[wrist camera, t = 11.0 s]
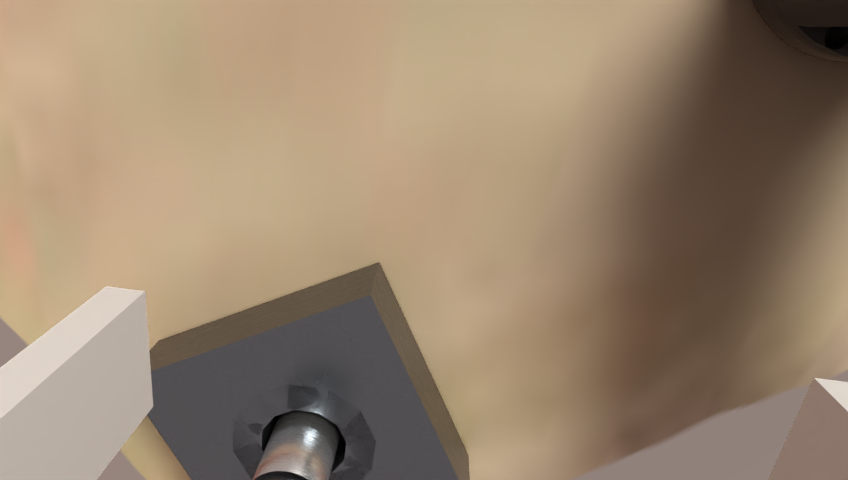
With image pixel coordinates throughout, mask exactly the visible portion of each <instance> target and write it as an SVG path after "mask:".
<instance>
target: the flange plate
mask: <svg viewBox="0 0 848 480" xmlns="http://www.w3.org/2000/svg"><path fill="white" fill-rule="evenodd" d="M149 352H150V366H151V381H152V395H153V407H152V409H151V410H150V411H149V413H148V414H147V416H148V417H149V418H150V420H151V421H152V423H153V424H154V426H155V427H156V429H157V430H158V432H159V433H160V434H161V436H162V437H163V439H164V440H165V442H166V443H167V445H168V446H169V448H170V449H171V450H172V452H173V453H174V455H175V456H176V458H177V459H178V461H179V462H180V463H181V465H182V466H183V468H184V469H185V471H186V472H187V474H188V475H189V477H190V478H191V479H192V480H253V477H254V475H255V473H256V470H257V468H258V465H259V463H260V461H261V458H262V456H263V453H264V451H265V449H266V446H267V444H268V442H269V439H270V437H271V434H272V432H273V430H274V427H275V425H276V422H277V420H278V418H279V415H280V414H283V413H286V412H290V411H293V410H300V411H307V412H314V413H319V414H320V415H322V416H323V417H325V418H327V419H328V420H330V421H331V422H333V423H334V424H336V425H337V426H338V428H339V430H340V432H341V434H340V438H339V442H338V446H337V450H336V454H335V457H334V461H333V465H332V469H331V473H330V477H329V480H470V477H469V458H468V453H467V451H466V449H465V447H464V445H463V443H462V440H461V438H460V436H459V434H458V432H457V430H456V427H455V425H454V423H453V421H452V419H451V417H450V414H449V412H448V410H447V408H446V406H445V404H444V401H443V399H442V397H441V395H440V393H439V391H438V388H437V386H436V384H435V382H434V380H433V378H432V375H431V373H430V371H429V369H428V367H427V365H426V362H425V360H424V358H423V356H422V354H421V352H420V349H419V347H418V345H417V343H416V341H415V339H414V336H413V334H412V332H411V330H410V328H409V326H408V323H407V321H406V319H405V317H404V315H403V313H402V310H401V308H400V306H399V304H398V302H397V300H396V297H395V295H394V293H393V291H392V289H391V286H390V284H389V282H388V280H387V278H386V276H385V273H384V271H383V269H382V267H381V265H380V263H376V264H373V265H370V266H367V267H364V268H362V269H359V270H356V271H353V272H350V273H348V274H345V275H342V276H339V277H336V278H334V279H331V280H328V281H325V282H322V283H320V284H317V285H314V286H311V287H308V288H305V289H303V290H300V291H297V292H294V293H291V294H289V295H286V296H283V297H280V298H277V299H275V300H272V301H269V302H266V303H263V304H261V305H258V306H255V307H252V308H249V309H246V310H244V311H241V312H238V313H235V314H232V315H230V316H227V317H224V318H221V319H218V320H216V321H213V322H210V323H207V324H204V325H201V326H199V327H196V328H193V329H190V330H187V331H185V332H182V333H179V334H176V335H173V336H171V337H168V338H165V339H162V340H159V341H158V342H157V343H156V344H155V346H154V347H153V348H152V349H151V350H150V351H149Z"/></svg>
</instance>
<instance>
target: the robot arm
mask: <svg viewBox="0 0 848 480" xmlns="http://www.w3.org/2000/svg"><path fill="white" fill-rule="evenodd" d="M753 2H754V4H755V6H756V8H757V10H758V12H759V13H760V15H761V17H762V18H763V20H764V21H765V22H766V24H767V25H768V26H769V27H770V28H771V29H772V30H773V32H774V33H775V34H777V35H778V36H779V37H780V38H781V39H782V40H784V41H785V42H786V43H788V44H789V45H791V46H792V47H794V48H796V49H798V50H800V51H802V52H804V53H806V54H809V55H811V56H814V57H818V58H821V59H826V60H832V61H841V62H848V0H753ZM152 407H153V395H152V381H151V366H150V352H149V338H148V324H147V310H146V296H145V291H140V290H132V289H124V288H116V287H109V286H106V287H105V288H103V289H102V290H101V291H99V292H98V293H97V294H95V295H94V296H93V297H92V298H90V299H89V300H88V301H86V302H85V303H84V304H82V305H81V306H80V307H79V308H77V309H76V310H75V311H73V312H72V313H71V314H69V315H68V316H67V317H66V318H64V319H63V320H62V321H60V322H59V323H58V324H56V325H55V326H54V327H53V328H51V329H50V330H49V331H47V332H46V333H45V334H43V335H42V336H41V337H40V338H38V339H37V340H36V341H34V342H33V343H32V344H30V345H29V346H28V347H27V348H25V349H24V350H23V351H21V352H20V353H19V354H18V355H16V356H15V357H14V358H12V359H11V360H10V361H8V362H7V363H6V364H4V365H3V366H2V367H1V368H0V480H97V478H98V477H99V476H100V475H101V473H102V472H103V471H104V469H105V468H106V467H107V466H108V464H109V463H110V462H111V460H112V459H113V458H114V456H115V455H116V454H117V453H118V451H119V450H120V449H121V447H122V446H123V445H124V444H125V442H126V441H127V440H128V438H129V437H130V436H131V435H132V433H133V432H134V431H135V429H136V428H137V427H138V426H139V424H140V423H141V422H142V420H143V419H144V418H145V417H146V415H147V414H148V413H149V411H150V410H151V409H152ZM769 480H848V382H842V381H834V380H827V379H819V378H814V379H813V381H812V383H811V385H810V388H809V390H808V392H807V395H806V397H805V399H804V401H803V404H802V406H801V408H800V410H799V412H798V415H797V417H796V419H795V421H794V424H793V426H792V428H791V430H790V433H789V435H788V437H787V440H786V442H785V444H784V446H783V448H782V451H781V453H780V455H779V458H778V459H777V462H776V464H775V466H774V469H773V471H772V473H771V475H770V477H769Z"/></svg>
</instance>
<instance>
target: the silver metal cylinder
mask: <svg viewBox="0 0 848 480" xmlns="http://www.w3.org/2000/svg"><path fill="white" fill-rule="evenodd" d="M340 434H341V432H340V430H339V428H338V426H337V425H336V424H334V423H333V422H331V421H330V420H328V419H327V418H325V417H323V416H322V415H320V414H319V413H314V412H307V411H300V410H293V411H290V412H286V413H283V414H280V415H279V418H278V420H277V422H276V425H275V427H274V430H273V432H272V434H271V437H270V439H269V442H268V444H267V446H266V449H265V451H264V453H263V456H262V458H261V461H260V463H259V465H258V468H257V470H256V473H255V475H254V477H253V480H329V477H330V473H331V469H332V465H333V461H334V457H335V454H336V450H337V446H338V442H339V438H340Z"/></svg>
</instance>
